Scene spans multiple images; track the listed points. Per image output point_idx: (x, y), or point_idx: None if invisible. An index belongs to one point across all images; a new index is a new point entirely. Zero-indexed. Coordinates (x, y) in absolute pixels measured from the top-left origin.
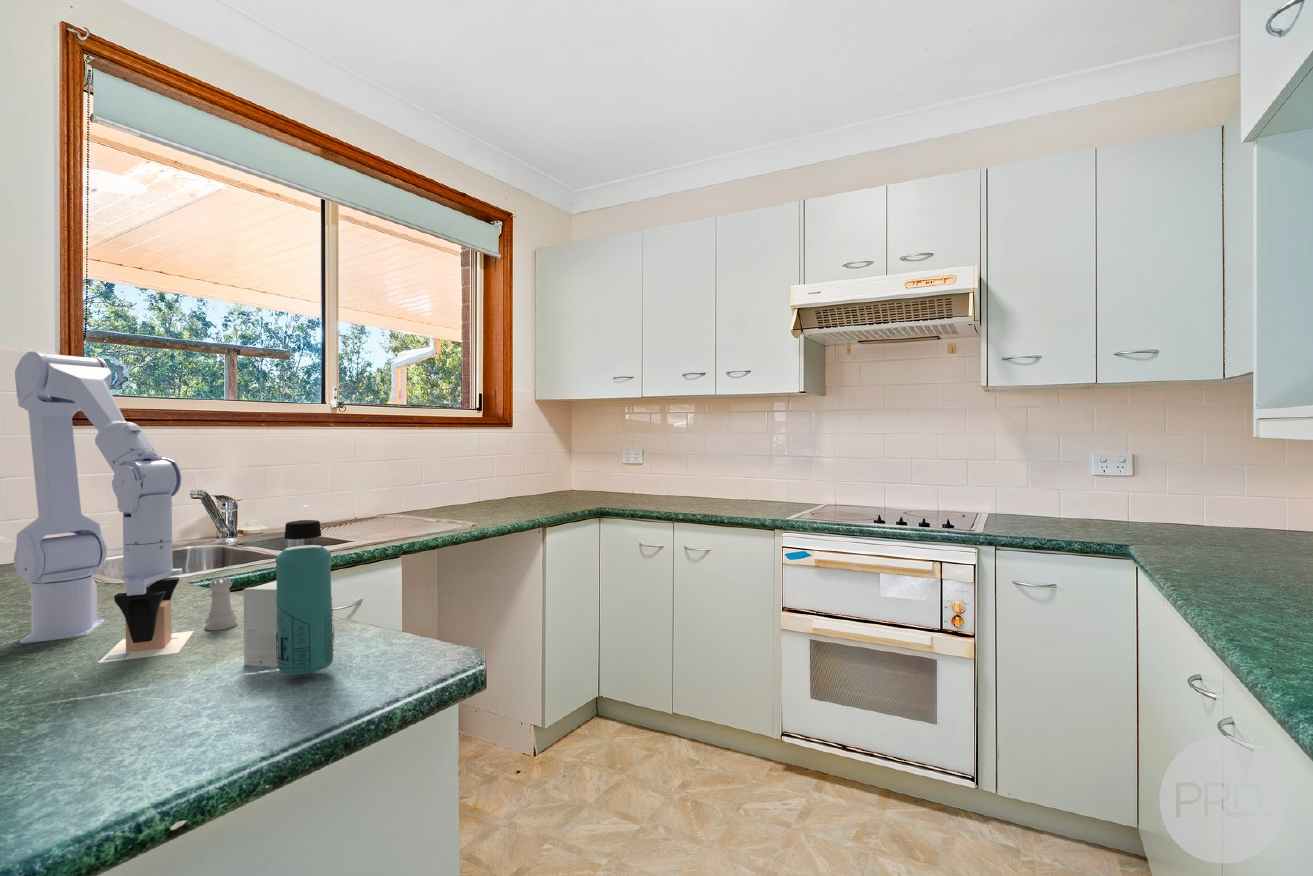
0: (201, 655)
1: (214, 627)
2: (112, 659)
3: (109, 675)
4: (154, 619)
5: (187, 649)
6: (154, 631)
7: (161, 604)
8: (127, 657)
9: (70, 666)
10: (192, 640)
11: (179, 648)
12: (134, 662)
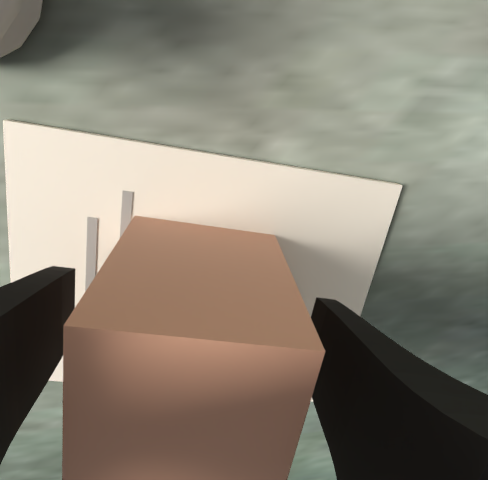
0: (482, 96)
1: (27, 7)
2: None
3: (478, 357)
4: (409, 352)
5: (331, 149)
6: (328, 309)
7: (231, 371)
8: None
9: None
10: (171, 128)
11: (337, 181)
12: (380, 311)
